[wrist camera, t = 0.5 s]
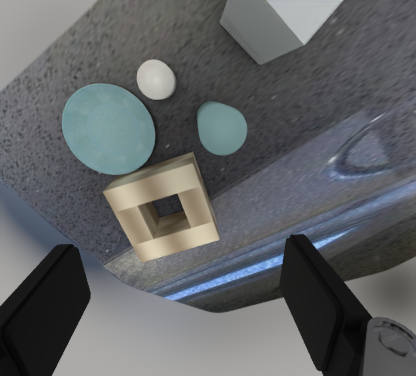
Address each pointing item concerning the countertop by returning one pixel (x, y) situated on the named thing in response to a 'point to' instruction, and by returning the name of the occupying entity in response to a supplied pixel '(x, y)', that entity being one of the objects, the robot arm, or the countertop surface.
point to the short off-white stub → (156, 80)
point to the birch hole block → (147, 215)
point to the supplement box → (274, 24)
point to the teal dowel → (221, 128)
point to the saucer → (108, 129)
